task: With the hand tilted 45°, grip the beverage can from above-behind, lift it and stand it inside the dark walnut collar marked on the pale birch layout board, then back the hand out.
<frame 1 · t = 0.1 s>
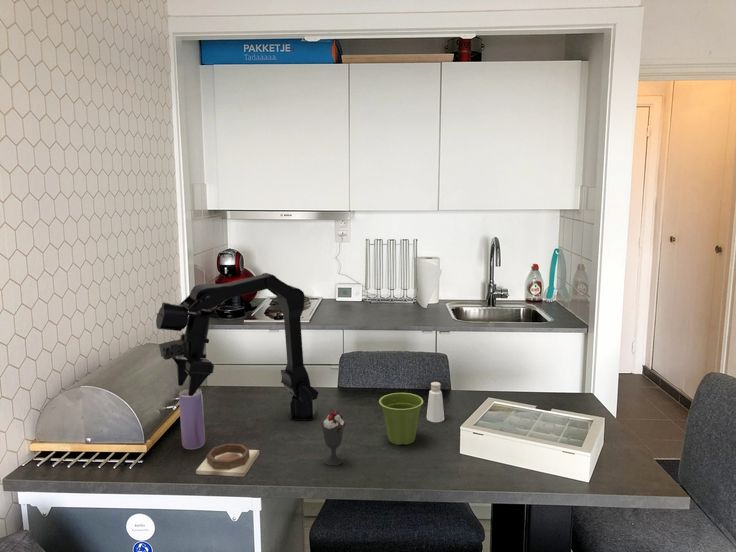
hand: (185, 390, 159), 15 cm above the table, tool pointing down, fingers open, 9 cm apart
beverage can: (193, 445, 162), on the table
layout board: (228, 463, 151), on the table
sundae: (333, 462, 152), on the table
salt shaker: (435, 419, 177), on the table
plant pot: (401, 440, 164), on the table
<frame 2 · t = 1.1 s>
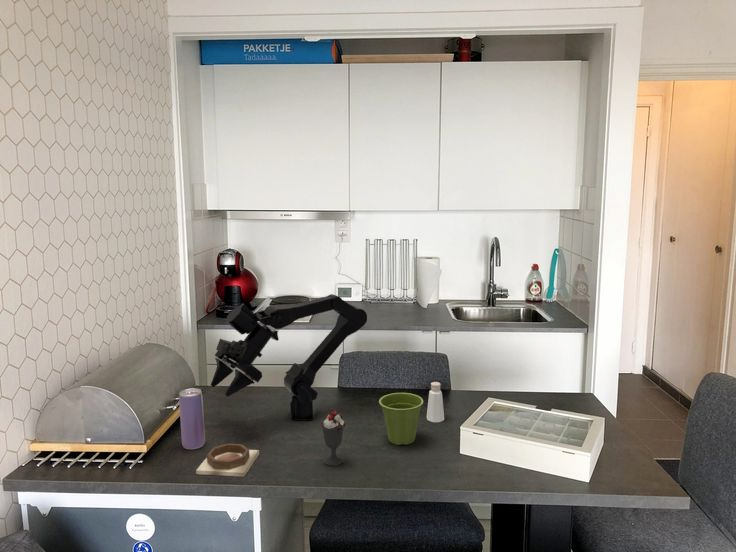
hand: (218, 390, 164), 13 cm above the table, tool tilted 45°, fingers open, 9 cm apart
nothing on the table moved.
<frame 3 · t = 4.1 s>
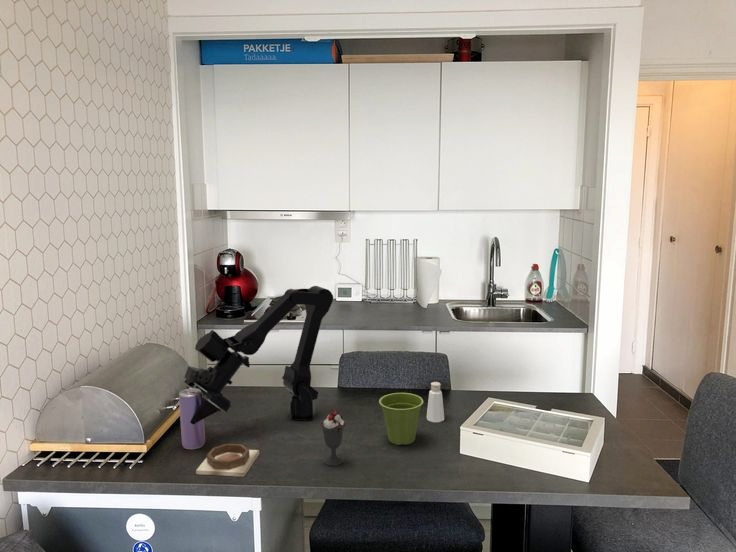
hand: (187, 419, 160), 8 cm above the table, tool tilted 45°, fingers closed on beverage can, 6 cm apart
beverage can: (193, 445, 162), on the table, touching gripper
everything else where it was.
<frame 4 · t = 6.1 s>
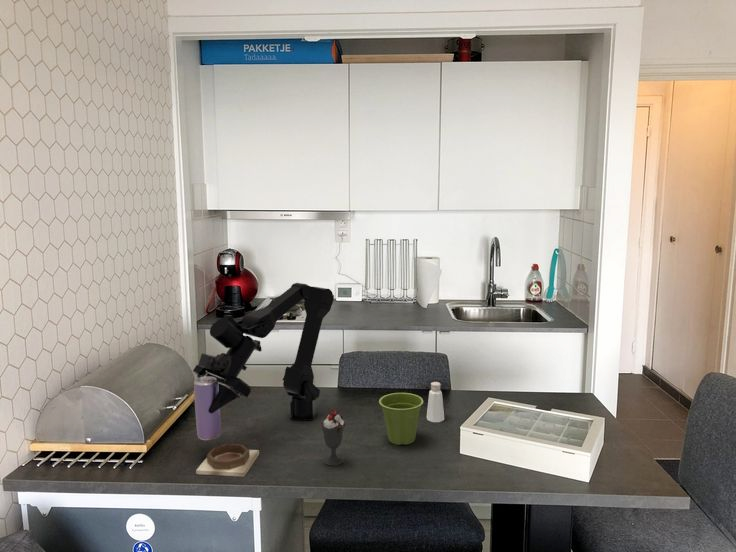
hand: (202, 409, 152), 13 cm above the table, tool tilted 45°, fingers closed on beverage can, 6 cm apart
beverage can: (209, 436, 155), point 5 cm above the table, touching gripper
everything else where it was.
when the fingers open (9 cm above the table, at t = 8.4 s): beverage can stays where it is, resting on layout board.
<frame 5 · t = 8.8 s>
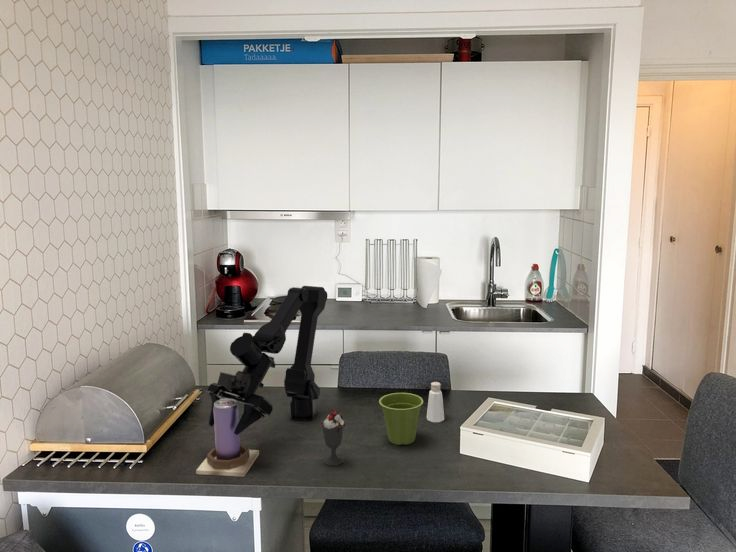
hand: (222, 429, 149), 10 cm above the table, tool tilted 45°, fingers open, 9 cm apart
beverage can: (228, 459, 152), point 1 cm above the table, touching layout board
everything else where it was.
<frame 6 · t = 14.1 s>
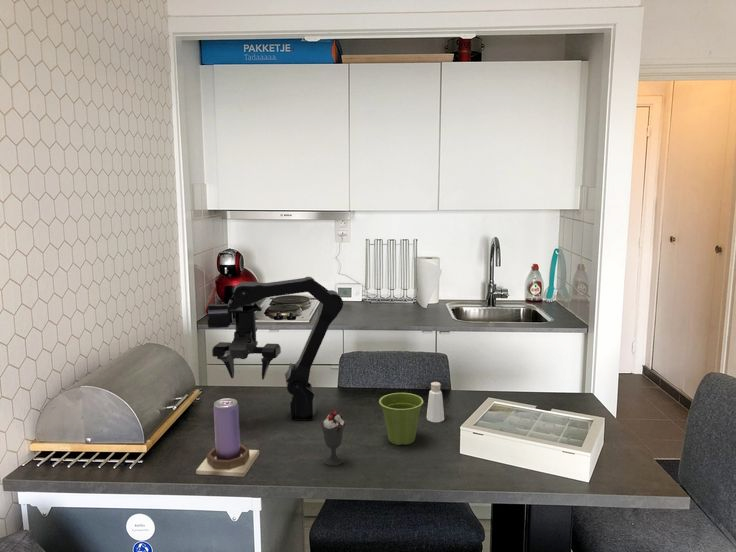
hand: (247, 378, 175), 13 cm above the table, tool pointing down, fingers open, 9 cm apart
nothing on the table moved.
at the end: beverage can 0.2 cm off-centre on the layout board, point 0.9 cm above the layout board's base; beverage can tilted 0°; the gripper is holding nothing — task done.
